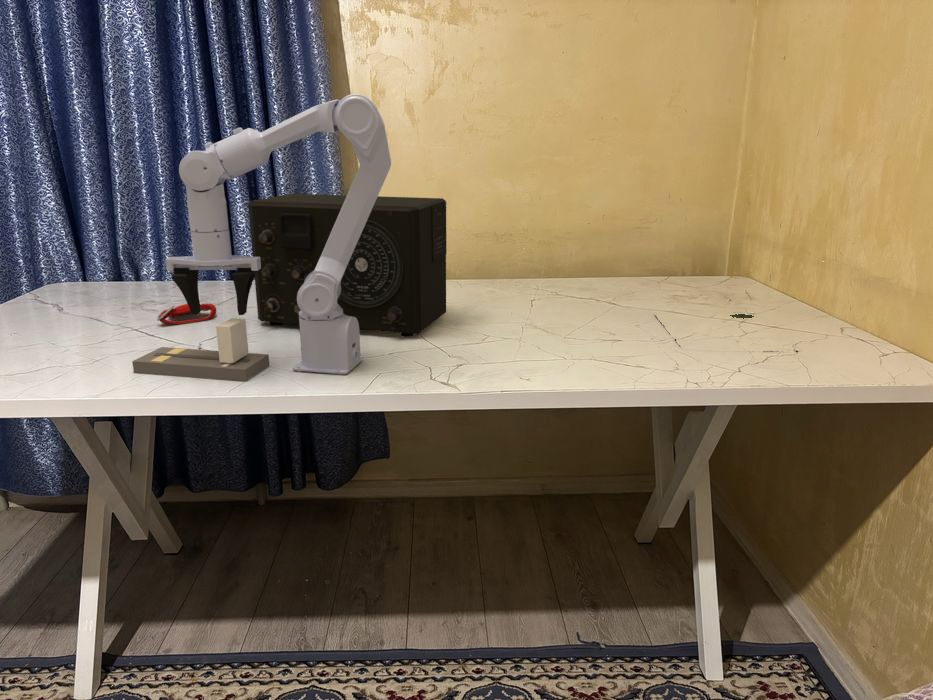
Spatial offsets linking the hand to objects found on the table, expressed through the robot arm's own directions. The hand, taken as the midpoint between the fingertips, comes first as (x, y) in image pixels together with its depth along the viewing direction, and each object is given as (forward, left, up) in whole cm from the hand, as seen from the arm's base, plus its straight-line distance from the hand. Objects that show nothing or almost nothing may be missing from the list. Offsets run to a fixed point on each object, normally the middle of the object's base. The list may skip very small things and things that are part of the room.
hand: (219, 313), depth 116 cm
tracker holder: (+25, -27, -10) cm, 38 cm away
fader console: (+3, +1, -9) cm, 10 cm away
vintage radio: (-10, -32, -10) cm, 35 cm away
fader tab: (-3, +1, -7) cm, 8 cm away
